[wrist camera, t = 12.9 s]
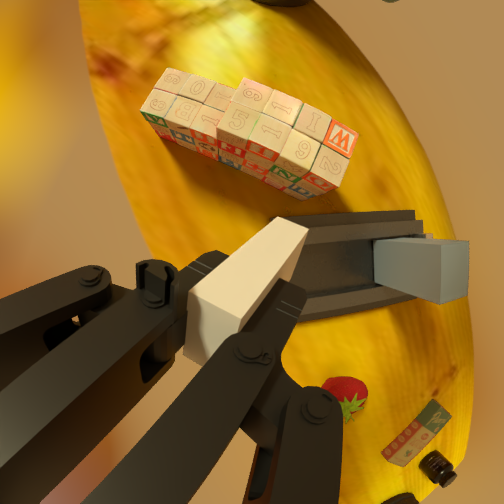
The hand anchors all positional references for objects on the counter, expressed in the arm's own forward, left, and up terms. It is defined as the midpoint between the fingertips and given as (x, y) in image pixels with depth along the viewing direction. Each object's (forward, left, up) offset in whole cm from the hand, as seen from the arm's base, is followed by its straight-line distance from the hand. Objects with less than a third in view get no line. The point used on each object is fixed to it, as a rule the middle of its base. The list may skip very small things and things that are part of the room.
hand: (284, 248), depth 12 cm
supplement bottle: (+62, +43, -23) cm, 78 cm away
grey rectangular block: (+5, +20, -22) cm, 30 cm away
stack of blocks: (-12, 0, -23) cm, 26 cm away
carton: (+44, +33, -23) cm, 60 cm away
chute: (+5, +15, -22) cm, 27 cm away
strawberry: (+23, +11, -23) cm, 34 cm away
